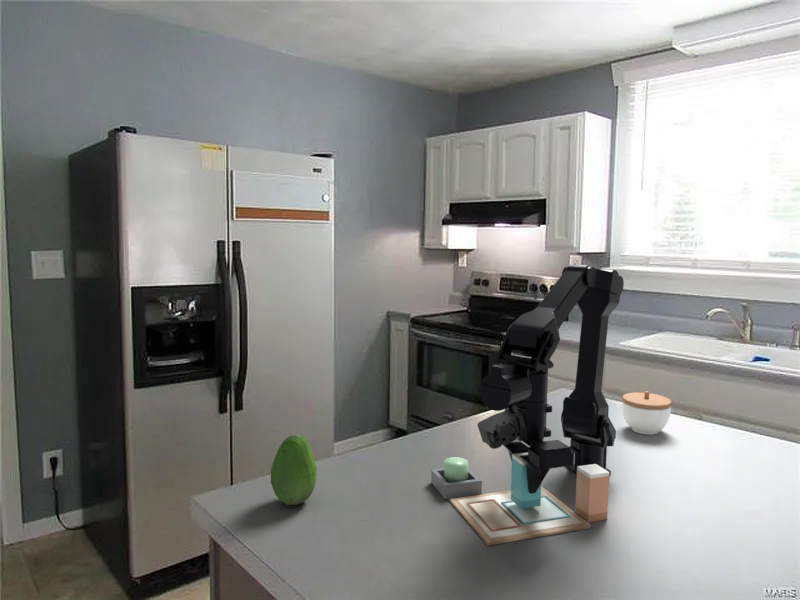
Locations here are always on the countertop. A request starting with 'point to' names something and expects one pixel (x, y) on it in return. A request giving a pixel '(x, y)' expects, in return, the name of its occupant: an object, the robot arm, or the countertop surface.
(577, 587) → the countertop surface
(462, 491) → the button pad
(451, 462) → the button
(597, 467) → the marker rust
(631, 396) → the lidded jar
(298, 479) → the avocado
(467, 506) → the colouring board
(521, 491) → the teal white tall block
